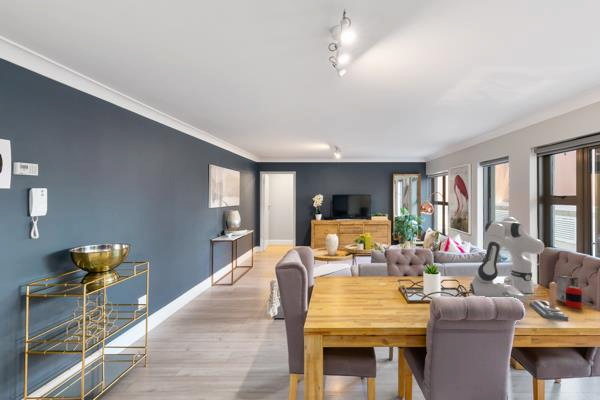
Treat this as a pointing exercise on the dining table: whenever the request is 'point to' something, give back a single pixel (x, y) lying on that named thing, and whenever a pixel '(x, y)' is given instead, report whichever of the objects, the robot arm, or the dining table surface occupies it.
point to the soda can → (573, 297)
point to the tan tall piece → (552, 298)
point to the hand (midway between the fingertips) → (528, 294)
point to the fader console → (546, 313)
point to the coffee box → (565, 286)
